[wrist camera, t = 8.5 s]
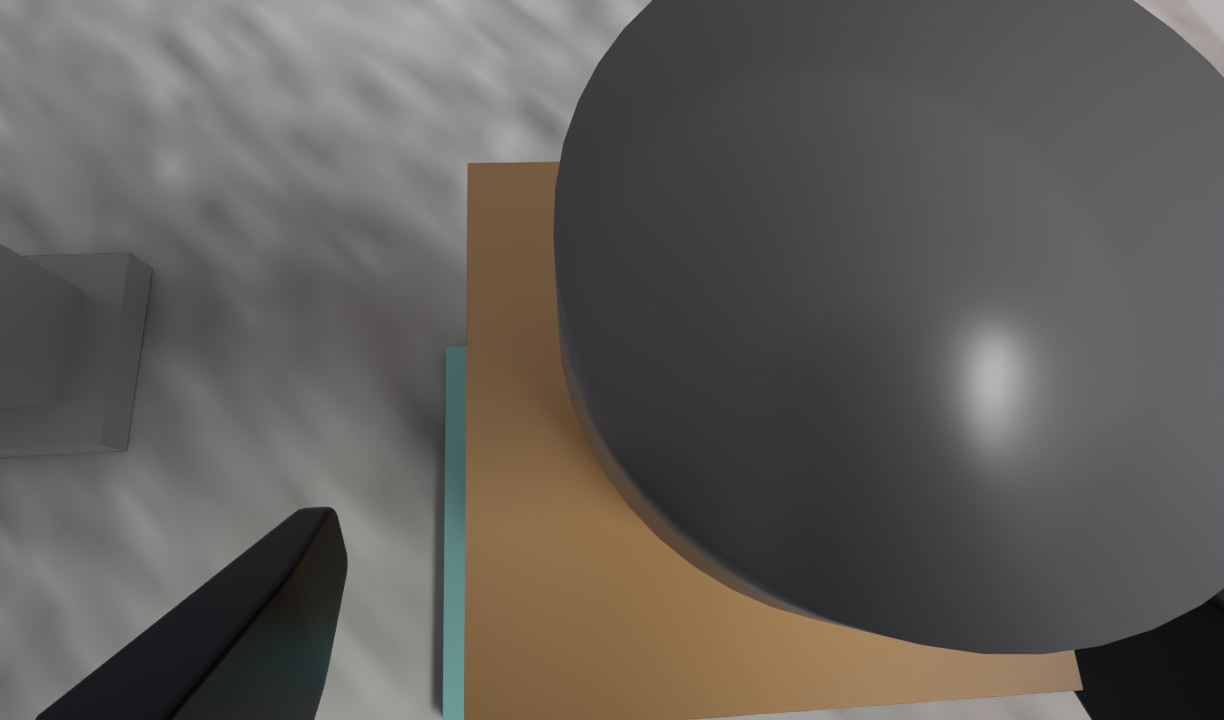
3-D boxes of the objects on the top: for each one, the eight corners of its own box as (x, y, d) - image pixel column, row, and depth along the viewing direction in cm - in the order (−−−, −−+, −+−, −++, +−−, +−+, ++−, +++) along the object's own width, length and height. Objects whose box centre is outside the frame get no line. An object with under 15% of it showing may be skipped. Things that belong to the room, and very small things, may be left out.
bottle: (724, 600, 16) (1789, 867, 2) (539, 611, 16) (289, 1021, 2) (707, 418, 18) (1294, -191, 3) (534, 426, 17) (370, -213, 3)
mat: (821, 689, 16) (827, 692, 16) (445, 719, 16) (442, 723, 15) (773, 338, 19) (778, 333, 18) (448, 351, 18) (446, 347, 18)
